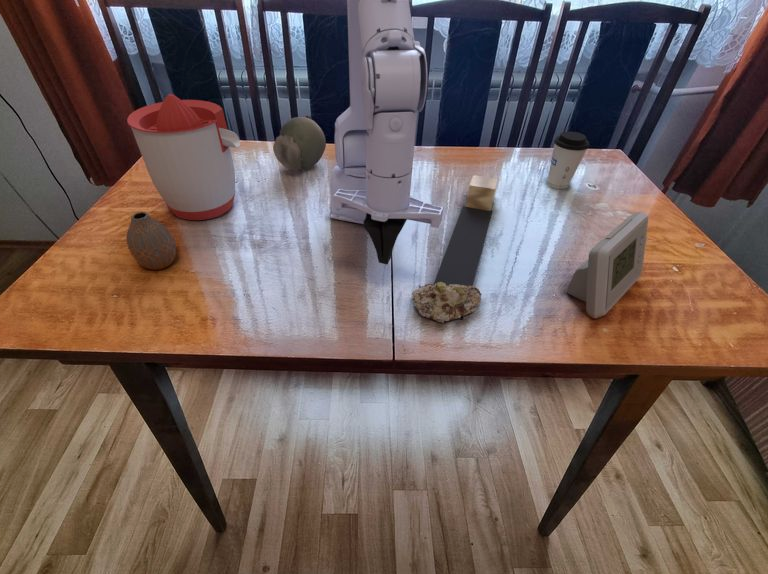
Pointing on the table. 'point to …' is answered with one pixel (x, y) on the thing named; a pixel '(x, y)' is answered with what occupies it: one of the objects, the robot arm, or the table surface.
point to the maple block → (481, 192)
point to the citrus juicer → (188, 155)
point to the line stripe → (464, 248)
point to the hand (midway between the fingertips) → (384, 259)
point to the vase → (150, 242)
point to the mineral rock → (446, 301)
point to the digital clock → (611, 266)
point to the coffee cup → (566, 158)
